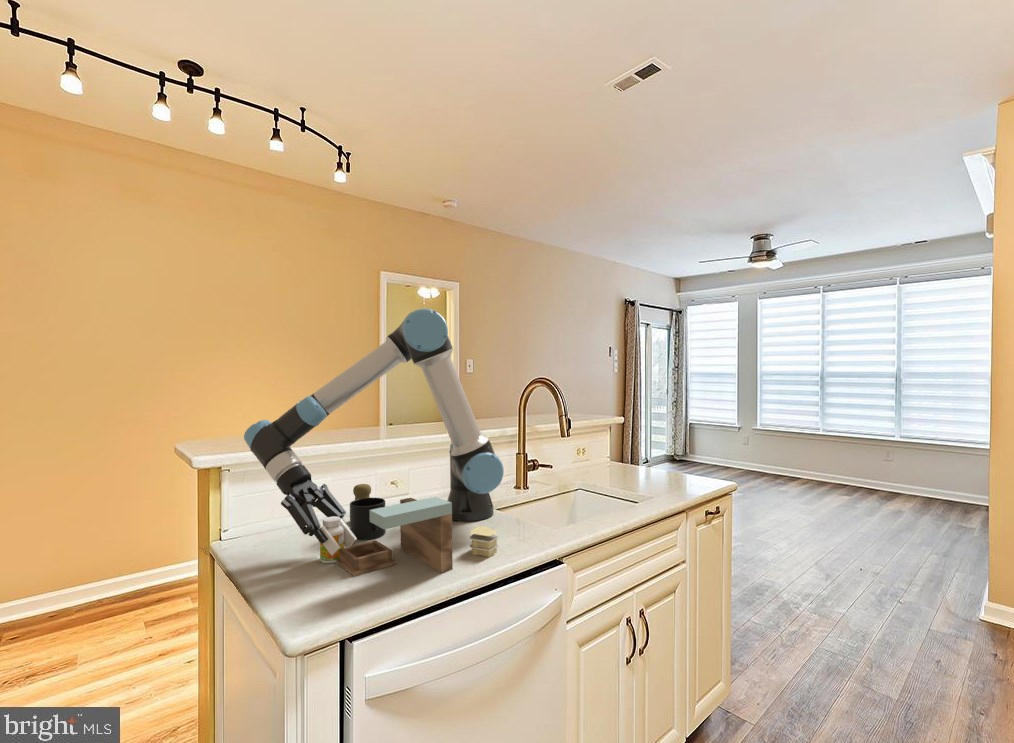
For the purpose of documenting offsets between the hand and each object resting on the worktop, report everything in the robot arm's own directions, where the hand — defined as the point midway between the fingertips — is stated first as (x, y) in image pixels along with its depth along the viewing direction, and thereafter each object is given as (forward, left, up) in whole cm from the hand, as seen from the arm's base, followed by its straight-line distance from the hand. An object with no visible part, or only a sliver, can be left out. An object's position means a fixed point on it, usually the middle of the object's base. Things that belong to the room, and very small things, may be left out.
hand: (344, 547), depth 115 cm
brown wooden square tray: (-3, +5, -3) cm, 7 cm away
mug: (-12, -13, -4) cm, 18 cm away
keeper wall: (-15, +11, -3) cm, 19 cm away
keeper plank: (-8, +17, +9) cm, 21 cm away
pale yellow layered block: (-28, +17, -4) cm, 33 cm away
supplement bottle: (+2, -3, -4) cm, 5 cm away
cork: (-16, -27, -4) cm, 32 cm away
